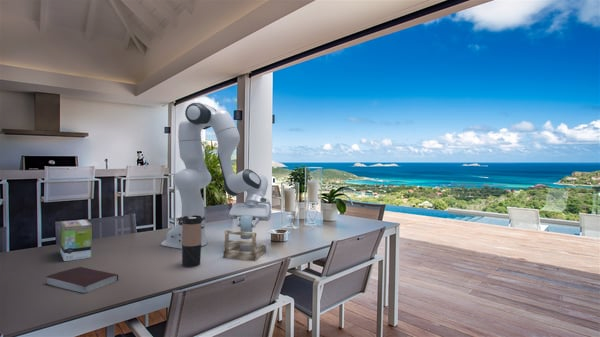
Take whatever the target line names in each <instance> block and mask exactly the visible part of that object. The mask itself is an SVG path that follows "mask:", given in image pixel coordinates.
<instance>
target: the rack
mask: <svg viewBox="0 0 600 337" xmlns="http://www.w3.org/2000/svg"><path fill="white" fill-rule="evenodd" d="M229 235H236V236H237V235H239V236H240V235H248V236H252V238H251V239H252V240H251V241H250V242H249V241H240V240H231V239H230V238H229V237H230V236H229ZM229 239H230V240H229ZM229 244H230V245H231V246H229ZM242 246H248V247H249V246H251V251H243V250H242V248H241V247H242ZM256 247H257V232H253V231H252V232H240V231H237V230H226V229H225V230H224V250H223V253H222V254H223V258H225V259H233V258H234V260H242V261H243V260H245V261H256V260H258V259H259V258H260V257H261V256H262V255H263V254H264V253H266V250H267V249H266V248H267V245H266V244H265V245H264V244H261V245H260V246H259V247H257V248H256ZM241 250H242V251H241Z"/></svg>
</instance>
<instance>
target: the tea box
mask: <svg viewBox="0 0 600 337" xmlns="http://www.w3.org/2000/svg"><path fill="white" fill-rule="evenodd" d="M92 226H93V225H92V223H91V222H89V220H87V219H77V220H76V219H75V220H64V221H63V220H61V222H60V251H59V253H60V255H61V257H62V261H64V262H69V261H77V260H84V259H90V258H91V257H92V232H93V231H92V230H93V229H92V228H93V227H92Z"/></svg>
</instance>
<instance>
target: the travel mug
mask: <svg viewBox="0 0 600 337" xmlns="http://www.w3.org/2000/svg"><path fill="white" fill-rule="evenodd" d="M201 255H202V246H201V216H197V215H193V216H192V217H187V216H184V217H183V224H182V249H181V265H182V267H185V268H194V267H198V266H200V265H201V257H202V256H201Z"/></svg>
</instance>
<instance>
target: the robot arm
mask: <svg viewBox="0 0 600 337" xmlns="http://www.w3.org/2000/svg"><path fill="white" fill-rule="evenodd" d="M184 112H185V113H184V114H185V118H186V119H184V120H181V121H180V123H179V124H178V130H177V131H178V134H177V138H178V149H179V157H180V159H181V161H183V163H184V166H185V168H184V169H181V170H179V171H177V172H176V173H175V175H174V177H173V183H174V186H175V187H176V188H177V189H178V192H179V196H180V201H181V202H180V203H181V216H180V217H178V218H177V219H176V222H178V223H177V224H175V225H174V227H173V228H171V229H170V230H168V231H167V233H166V236H165V239H164V240H163V241H161V243H160V245H161V246H164V247H169V248H175V249H181V250H182V224H183V217H184V216H187V217H192V216H193V215H197V216H201V247H204V246H206V245H207V244H208V241H207V238H206V237H207V236H206V233H205V232H206V230H205V226H206V217H205V200H204V199H203V197H202V193H201V190H202V189H204V188H206V187H207V186H209V185H210V183H211V181H212V175H211V173H210V172H209V170H208V168H207V167H208V166H207V164H206V162H205V159H204V153H203V145H202V136H201V135H202V130H207V129H210V128H212V130H213V131H214V134H215V137H216V141H217V158H218V161H219V167H220V169H221V170H220V172H221V174H222V175H221V176H222V179H223V186H224V190H225V191H226V193H227V194H228V195H230V196H232V197H237V196H239V195H241V194H242V193H243V192H246V196H245V199H244V201H236V202H234V203H233V204H232V206H231V208H230V210H229V212H228V216H229V218H230V219H231V220H237V225H236V226H237V227H240V226H241V216H253V220H252V221H254V222H252V224H251V227H252V229H254V228H256V227H257V225H258V224H259V223H260V221H261V222H262V221H264V222H268V221H270V220H271V216H272V210H271V209H272V204H271V202H270V200H269V199H268V198H266V197H265V196H266V195H267V194H266V193H267V190H268V188H269V187H268V185H269V182H268V178H267V177H266V176H265V175H264V174H261V173H256V172H254V171H253V169H249V168H246V169H244V170H241V171H239V172H238V173H235V172H234V167H233V164H232V156H233V153H234V151H235V150H236V148H237V147H238V146H239V144H240V142H241V137H240V132H239V130H238V127H237V125H236V123H235V121H234V119H233V117H232V116H231V114H230V112H229V111H227V110H225V109H220V110H217V109H215V107H212V106H210V105H208V104H206V103H205V104H204V103H201V102H193V103H190V104H188V105H187V106H186V108H185V111H184Z"/></svg>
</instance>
